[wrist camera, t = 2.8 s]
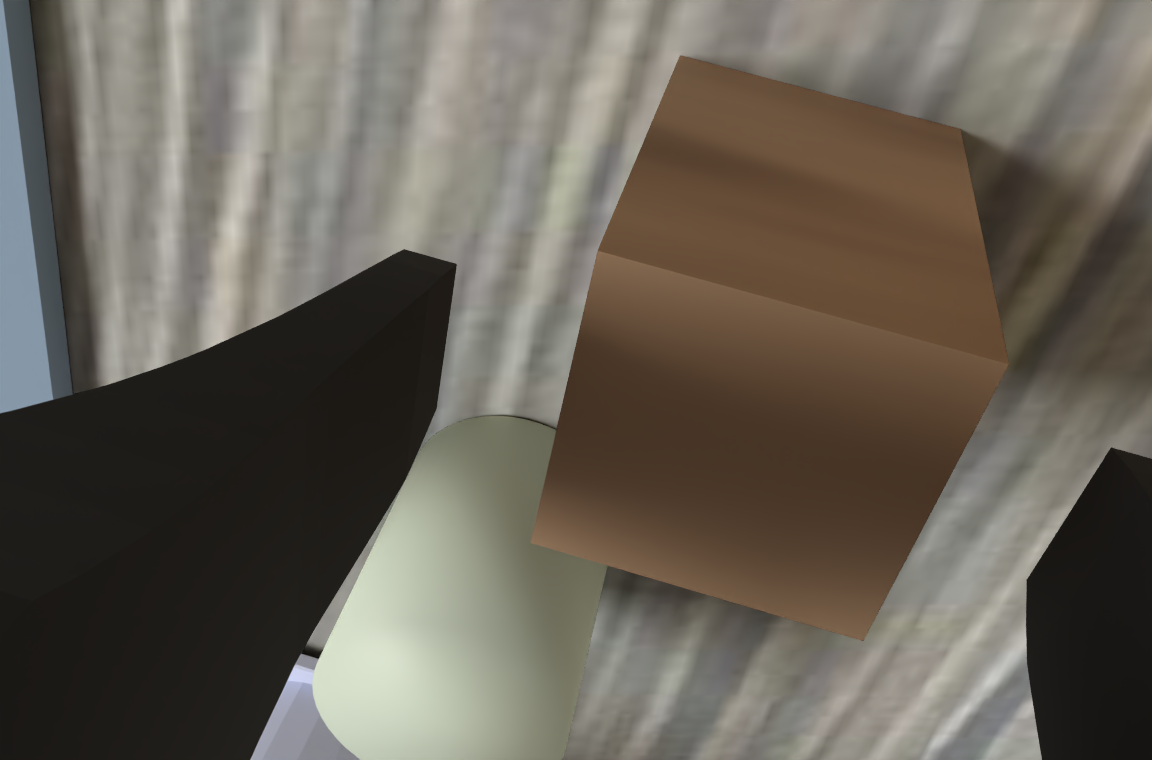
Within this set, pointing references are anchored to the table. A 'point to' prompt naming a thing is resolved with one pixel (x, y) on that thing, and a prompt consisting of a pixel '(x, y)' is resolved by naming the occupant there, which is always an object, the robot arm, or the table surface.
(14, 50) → the slate mat
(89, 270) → the table surface
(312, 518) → the robot arm
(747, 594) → the walnut block
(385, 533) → the sage cylinder
